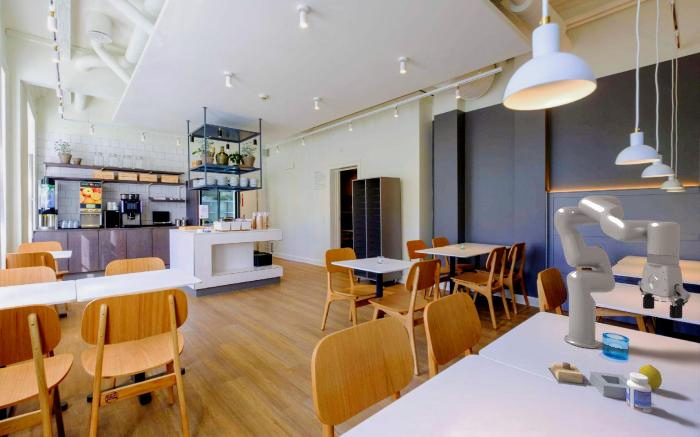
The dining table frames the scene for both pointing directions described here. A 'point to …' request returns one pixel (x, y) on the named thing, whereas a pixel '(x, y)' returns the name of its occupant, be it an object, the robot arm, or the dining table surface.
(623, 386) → the grey square container
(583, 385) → the grey rectangular plate
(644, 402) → the pill bottle
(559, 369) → the lid
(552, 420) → the dining table surface
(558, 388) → the dining table surface
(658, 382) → the lemon
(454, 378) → the dining table surface
